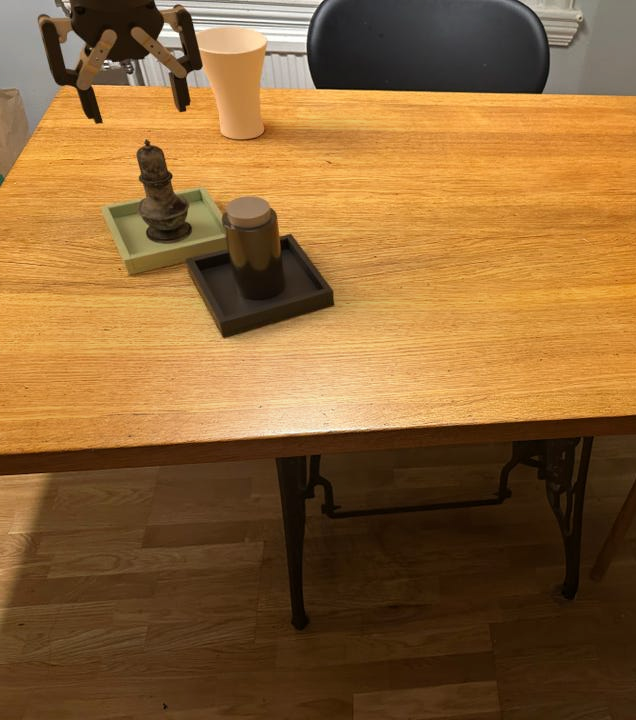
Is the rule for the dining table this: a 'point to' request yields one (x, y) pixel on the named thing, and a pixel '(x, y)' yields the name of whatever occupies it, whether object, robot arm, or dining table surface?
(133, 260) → the light tray
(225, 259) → the dark tray
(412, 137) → the dining table surface
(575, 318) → the dining table surface
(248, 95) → the cup
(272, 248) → the brown jar with lid
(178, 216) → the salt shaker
